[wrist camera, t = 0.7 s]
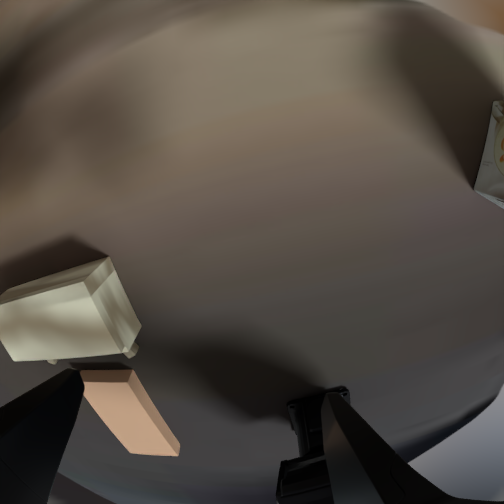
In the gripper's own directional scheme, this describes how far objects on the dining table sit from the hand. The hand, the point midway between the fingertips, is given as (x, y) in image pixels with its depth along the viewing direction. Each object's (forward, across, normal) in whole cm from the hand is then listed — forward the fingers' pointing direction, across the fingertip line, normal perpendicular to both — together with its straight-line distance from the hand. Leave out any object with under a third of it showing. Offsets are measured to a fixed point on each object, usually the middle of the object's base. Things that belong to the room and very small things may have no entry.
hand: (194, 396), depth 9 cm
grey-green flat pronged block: (+14, +15, +7) cm, 22 cm away
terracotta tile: (+14, +11, +20) cm, 27 cm away
